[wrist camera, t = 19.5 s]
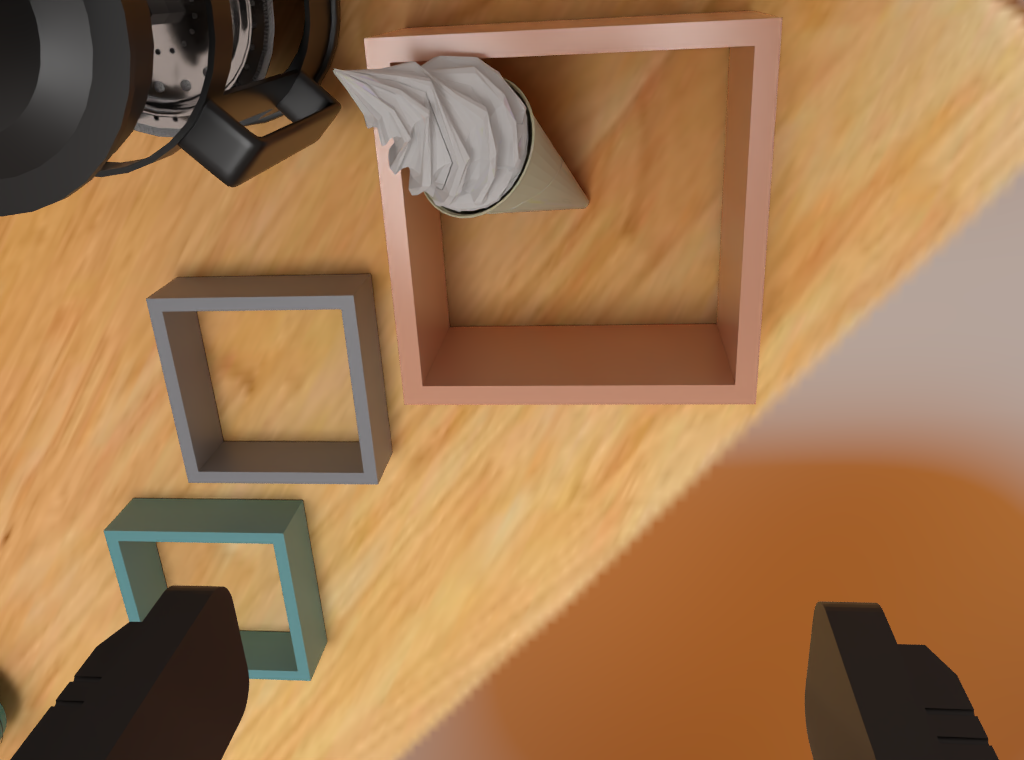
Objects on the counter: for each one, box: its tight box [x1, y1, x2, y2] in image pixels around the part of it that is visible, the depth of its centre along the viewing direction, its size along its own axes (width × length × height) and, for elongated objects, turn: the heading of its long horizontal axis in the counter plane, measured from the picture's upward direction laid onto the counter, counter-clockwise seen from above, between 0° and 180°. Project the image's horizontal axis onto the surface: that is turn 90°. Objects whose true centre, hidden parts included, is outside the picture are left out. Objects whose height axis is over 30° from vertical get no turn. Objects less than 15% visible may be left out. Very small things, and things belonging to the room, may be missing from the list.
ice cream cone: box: [333, 56, 589, 218], centre depth 31 cm, size 5×5×15 cm
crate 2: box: [104, 498, 327, 681], centre depth 46 cm, size 9×9×3 cm
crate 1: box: [146, 274, 392, 484], centre depth 41 cm, size 9×9×3 cm
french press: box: [0, 0, 341, 216], centre depth 25 cm, size 12×9×23 cm
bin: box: [364, 11, 782, 405], centre depth 35 cm, size 14×14×6 cm
